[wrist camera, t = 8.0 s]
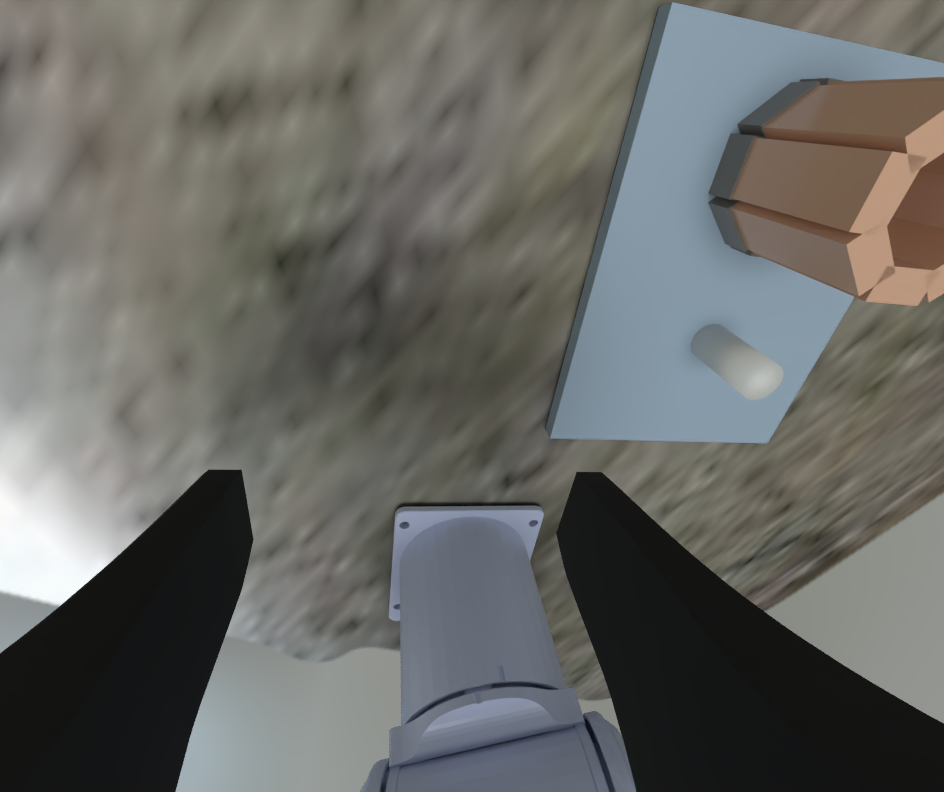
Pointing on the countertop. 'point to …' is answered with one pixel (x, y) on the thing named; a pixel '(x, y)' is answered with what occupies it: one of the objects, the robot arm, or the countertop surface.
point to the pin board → (699, 248)
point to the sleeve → (842, 186)
